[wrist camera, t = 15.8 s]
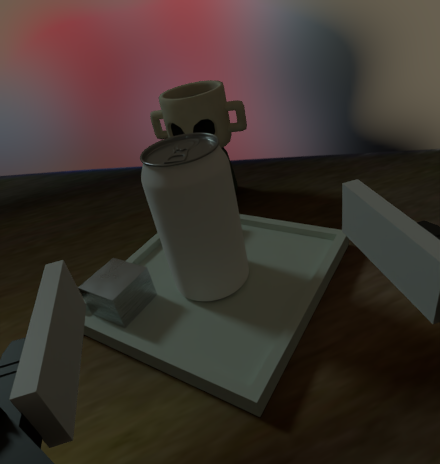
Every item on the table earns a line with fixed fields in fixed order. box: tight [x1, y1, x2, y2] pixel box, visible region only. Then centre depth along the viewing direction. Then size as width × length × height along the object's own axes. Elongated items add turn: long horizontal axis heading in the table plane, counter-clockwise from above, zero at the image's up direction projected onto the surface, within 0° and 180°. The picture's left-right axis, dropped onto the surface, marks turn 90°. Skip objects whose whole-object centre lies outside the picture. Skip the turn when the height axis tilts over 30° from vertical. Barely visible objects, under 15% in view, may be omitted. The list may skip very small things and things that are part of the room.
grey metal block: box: [78, 258, 157, 328], centre depth 31 cm, size 4×4×3 cm
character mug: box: [150, 81, 247, 192], centre depth 43 cm, size 11×7×13 cm, turn 77°
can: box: [140, 133, 249, 302], centre depth 29 cm, size 6×6×12 cm
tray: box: [83, 214, 349, 417], centre depth 33 cm, size 18×18×2 cm
